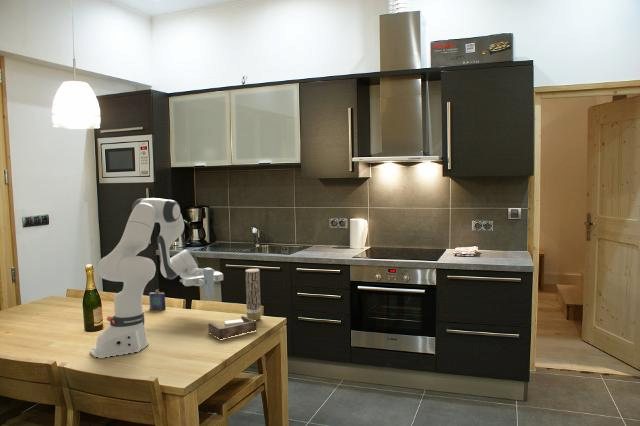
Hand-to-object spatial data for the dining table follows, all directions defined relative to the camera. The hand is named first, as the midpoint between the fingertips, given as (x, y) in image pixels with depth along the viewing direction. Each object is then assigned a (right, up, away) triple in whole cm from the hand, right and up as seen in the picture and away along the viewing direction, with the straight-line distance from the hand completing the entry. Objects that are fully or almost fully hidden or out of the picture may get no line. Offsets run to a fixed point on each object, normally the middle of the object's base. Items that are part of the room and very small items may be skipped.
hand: (209, 281), depth 244 cm
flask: (-34, -19, +27) cm, 47 cm away
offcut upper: (+15, -19, -18) cm, 30 cm away
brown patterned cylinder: (+21, -20, +4) cm, 29 cm away
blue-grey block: (0, -8, +1) cm, 8 cm away
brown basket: (+14, -21, -17) cm, 31 cm away
